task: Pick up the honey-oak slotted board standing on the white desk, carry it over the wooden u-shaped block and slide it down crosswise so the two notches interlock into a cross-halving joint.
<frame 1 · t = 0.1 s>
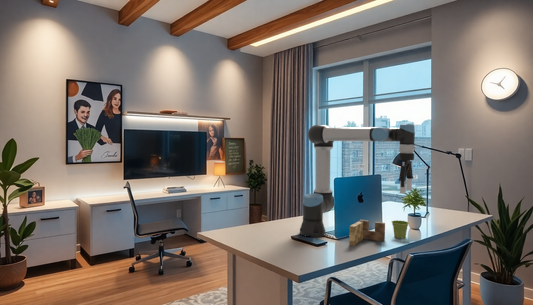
hand: (405, 191, 193), 28 cm above the table, fingers open, 13 cm apart
wooden u-shaped block: (371, 239, 201), on the table
plant pot: (399, 237, 206), on the table
oak board: (356, 242, 194), on the table
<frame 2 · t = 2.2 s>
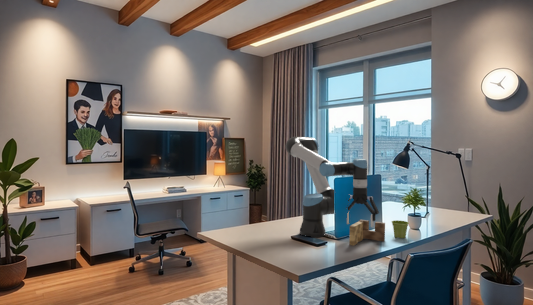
hand: (359, 225, 197), 9 cm above the table, fingers open, 13 cm apart
nothing on the table moved.
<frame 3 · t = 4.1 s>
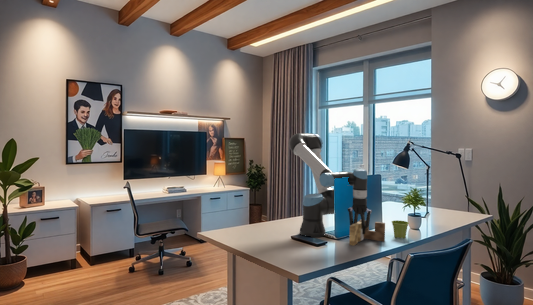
hand: (359, 239, 198), 1 cm above the table, fingers closed on oak board, 3 cm apart
oak board: (356, 242, 194), on the table, touching gripper
everything else where it was.
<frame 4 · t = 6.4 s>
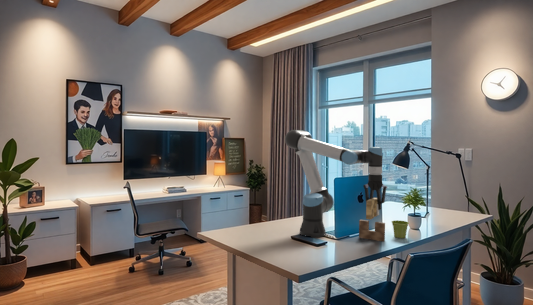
hand: (374, 214, 204), 13 cm above the table, fingers closed on oak board, 3 cm apart
oak board: (372, 217, 200), point 13 cm above the table, touching gripper
everything else where it was.
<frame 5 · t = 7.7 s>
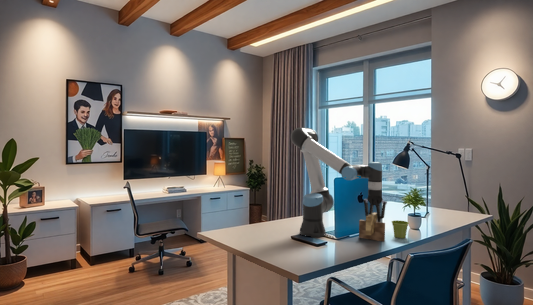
hand: (374, 229, 204), 4 cm above the table, fingers closed on oak board, 3 cm apart
oak board: (372, 232, 200), point 4 cm above the table, touching gripper
everything else where it was.
when the fingers open (2 cm above the table, at t = 8.7 s): oak board drops 1 cm, on the table.
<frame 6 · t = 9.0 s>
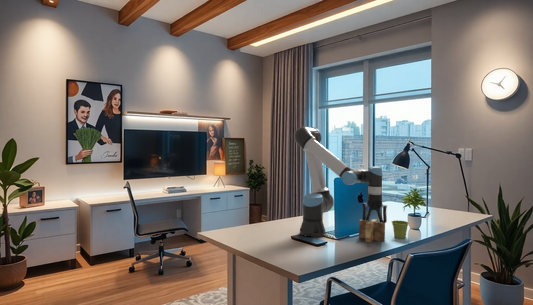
hand: (374, 233, 204), 2 cm above the table, fingers open, 6 cm apart
oak board: (371, 239, 201), on the table
everything else where it was.
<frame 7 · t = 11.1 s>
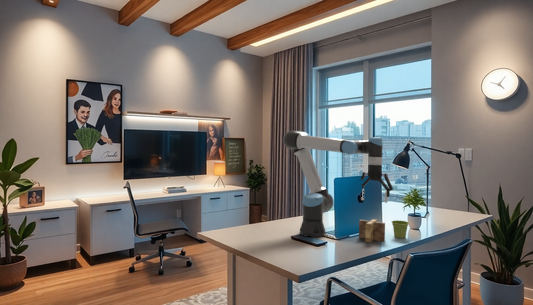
hand: (374, 201, 204), 21 cm above the table, fingers open, 13 cm apart
nothing on the table moved.
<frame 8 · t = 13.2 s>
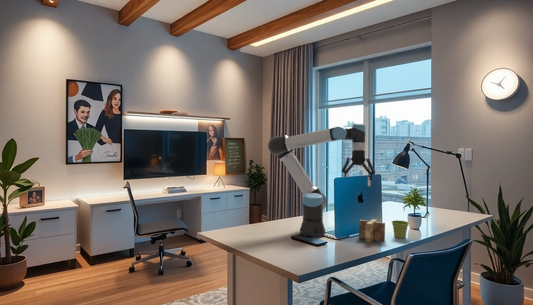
hand: (357, 185, 215), 29 cm above the table, fingers open, 13 cm apart
nothing on the table moved.
at the end: oak board 0.1 cm off-centre on the wooden u-shaped block, point 0.0 cm above the wooden u-shaped block's base; oak board tilted 0°; the gripper is holding nothing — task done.
